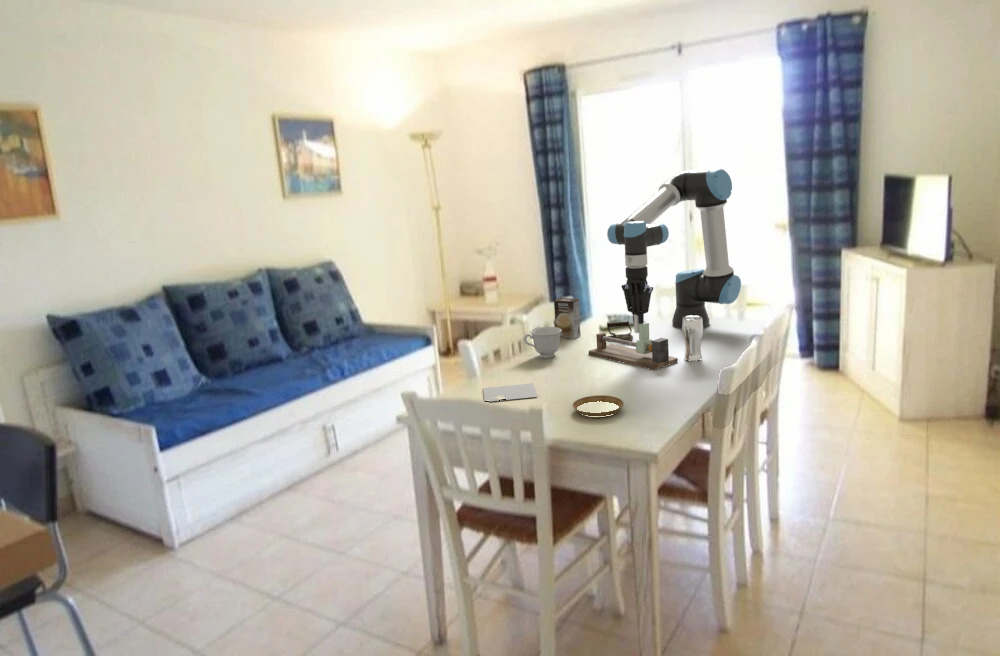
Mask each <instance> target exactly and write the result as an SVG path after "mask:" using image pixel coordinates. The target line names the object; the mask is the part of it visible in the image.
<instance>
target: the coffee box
mask: <svg viewBox="0 0 1000 656" xmlns="http://www.w3.org/2000/svg"><path fill="white" fill-rule="evenodd" d="M553 307H554V310H553V311H554V324H555V325H554V327H557V328H560V329H561V330H562V331H561V332H560V337H561V338H560V339H565V338H569V339H568V340H576V339H578V338H579V337H581V317H580V314H581V313H580V312H581V311H580V299H579V298H575V297H573V298H571V297H559V298H557V299H555V300H553Z"/></svg>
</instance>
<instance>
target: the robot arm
mask: <svg viewBox="0 0 1000 656" xmlns="http://www.w3.org/2000/svg"><path fill="white" fill-rule="evenodd" d="M732 183H733V182H732V178H731V177H730V174H729V173H728V172H727V171H726V170H724V169H723V168H704V169H688V170H685V171H684V170H683V171H681V172H679V173H677V174H676V175H674V176H672V177H670V178H669V179H667V180H666V181H665V182H663V183H662V184H661V185H660V186H659V188H658V191H657V192H656V193H655V194H653V195H652V196H651V197H650V198H649V199H647V200H646V202H644V203H643V204H642V205H641V206H639V207H638V208H637V209H636V210H635V211H634V212H633V213H632V214H630V215H629V216H628V217H627V218H626V219H624V221H622V222H621V223H613V224H611V225H610V226H608V229H607V235H606V236H607V240H608V241H609V243H611V244H613V245H619V246H622V245H624V260H625V261H624V262H625V263H624V264H625V266H626V267H625V278H626V283H625V284H622V285H621V289H622V291H623V294H624V300H625V305H626V308H627V312H628V313H631V314H632V322H633V325H634V327H633V331H634V333H635V334H639V324H642V323H645V320H644V315H645V314H647V313H649V310H650V309H649V308H650V303H651V296H652V293H653V290H654V287H653V286H650V285H649V284H648V280H647V278H648V276H649V275H648V272H649V271H648V266H647V265H648V247H653V246H659V245H662V244H664V243H665V242H667V241H668V239H669V236H670V232H669V228H668V227H667V225H665V224H664V223H662V222H655V221H656V220H657V219H658V218H659V217H660V216H662V215H663V214H664V213H665V212H666V211H667V210H669V208H671V207H673V206H674V207H675V206H677V205H679V203H680V202H685V201H694V203H695V207H696V208H697V209H698V210H699V212H700V221H701V231H702V238H703V239H702V240H703V247H704V248H703V249H704V257H705V265H706V268H705V269H703V268H698V269H697V268H696V269H689V270H683V271H680V272H678V273H676V275H675V282H674V284H675V302H676V305H675V306H676V307H675V310H674V313H673V316H672V322H671V323H672V324H671V325H672V326H673V327H674V328H677V329H678V328H679V329H682V324H683V317H686V316H700V317H702V322H703V328H706V327H709V325H710V317H709V316H708V312H707V309H706V303H711V304H720V305H730V304H733V303H734V302H735V301H736V300H737V299H738V297H739V295H740V293H741V289H742V288H741V287H742V280H741V278H740V276H738V275H736V274H735V272H734V268H733V267H732V266H730V263H729V253H728V243H727V234H726V233H727V232H726V231H727V230H726V223H725V222H726V221H725V220H726V219H725V211H724V206H726V204H727V203H728V199H729V198H730V196H731V194H732V190H733V184H732Z"/></svg>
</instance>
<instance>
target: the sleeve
mask: <svg viewBox="0 0 1000 656" xmlns="http://www.w3.org/2000/svg"><path fill="white" fill-rule="evenodd" d="M652 341H653V339H650V323H649V322H647V321H646V322H645V321H644V323H642V324H639V333H638V340H636V341H635V342H636V347H635V349H636V352H637V353H640V354H647V353H650V351H649V350H648V349H646V345H650V344H652Z"/></svg>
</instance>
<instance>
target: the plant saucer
mask: <svg viewBox="0 0 1000 656" xmlns="http://www.w3.org/2000/svg"><path fill="white" fill-rule="evenodd" d="M597 401H599V402H600V401H602V402H609V403H614V404H616V405H618V406H619V408H618V409H616V410H613V411H609V412H601V413H590V412H583V411H579V410H577V407H578V406H580V405H582V404H584V403H588V402H597ZM623 406H624V401H623V399H620V398H619V397H616V396H612V395H597V394H596V395H590V396H585V397H584V396H583V397H582V398H579V399H577V400H574V402H573V403H572V407H573V409H574V410H575V411H576V412H577V413H578V414H580V415H581V414H583V415H588V416H606V415H611V414H614V415H616V414H617V413H618V412H619V411H620V410H621V409H622V408H623ZM615 413H616V414H615ZM583 415H582V416H583Z"/></svg>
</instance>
